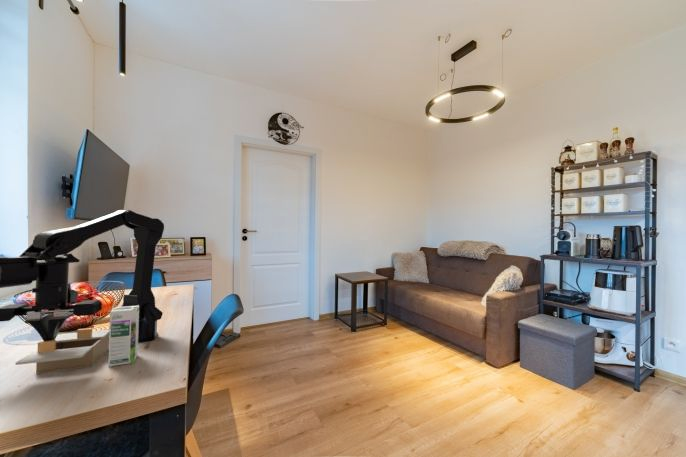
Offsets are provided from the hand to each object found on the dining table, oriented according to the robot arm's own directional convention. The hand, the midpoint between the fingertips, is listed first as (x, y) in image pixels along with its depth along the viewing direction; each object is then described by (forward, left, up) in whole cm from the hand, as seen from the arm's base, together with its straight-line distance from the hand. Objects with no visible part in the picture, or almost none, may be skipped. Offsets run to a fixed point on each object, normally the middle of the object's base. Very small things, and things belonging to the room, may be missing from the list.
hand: (49, 344), depth 71 cm
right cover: (-3, -9, -2) cm, 10 cm away
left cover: (-3, +4, -2) cm, 5 cm away
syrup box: (-15, -1, -7) cm, 17 cm away
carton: (-3, -6, -7) cm, 10 cm away
